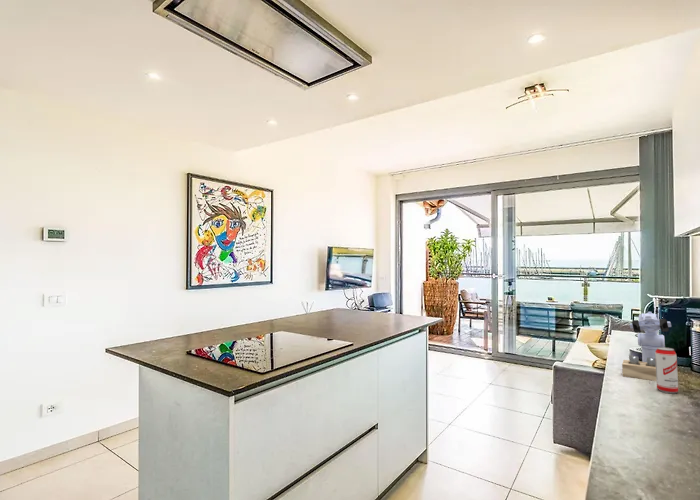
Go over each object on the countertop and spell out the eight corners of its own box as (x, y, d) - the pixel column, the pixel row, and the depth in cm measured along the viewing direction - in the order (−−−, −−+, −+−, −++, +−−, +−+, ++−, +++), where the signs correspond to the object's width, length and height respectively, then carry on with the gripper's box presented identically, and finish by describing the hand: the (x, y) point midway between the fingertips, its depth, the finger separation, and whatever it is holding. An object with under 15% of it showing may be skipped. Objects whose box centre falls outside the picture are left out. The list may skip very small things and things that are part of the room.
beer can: (683, 394, 139) (680, 350, 140) (666, 394, 139) (663, 350, 140) (669, 388, 145) (666, 346, 146) (652, 388, 145) (650, 346, 146)
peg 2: (647, 367, 163) (646, 357, 163) (656, 369, 161) (656, 358, 161) (647, 369, 160) (646, 358, 160) (656, 370, 158) (656, 359, 158)
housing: (624, 370, 171) (623, 359, 171) (661, 375, 163) (660, 363, 163) (622, 376, 162) (622, 364, 162) (661, 381, 154) (661, 369, 154)
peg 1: (630, 365, 166) (629, 355, 167) (639, 366, 164) (638, 356, 165) (629, 367, 164) (629, 356, 164) (638, 368, 162) (638, 357, 162)
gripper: (628, 315, 177) (627, 320, 166) (668, 313, 168) (669, 318, 157) (632, 330, 176) (630, 336, 165) (672, 329, 167) (673, 335, 156)
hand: (649, 328), depth 161 cm, fingers open, 7 cm apart
